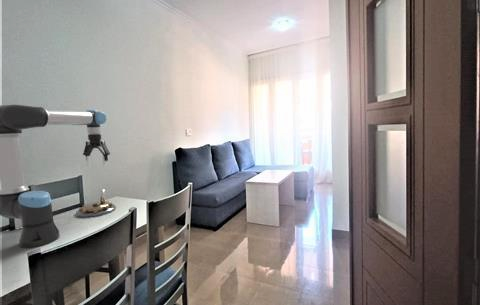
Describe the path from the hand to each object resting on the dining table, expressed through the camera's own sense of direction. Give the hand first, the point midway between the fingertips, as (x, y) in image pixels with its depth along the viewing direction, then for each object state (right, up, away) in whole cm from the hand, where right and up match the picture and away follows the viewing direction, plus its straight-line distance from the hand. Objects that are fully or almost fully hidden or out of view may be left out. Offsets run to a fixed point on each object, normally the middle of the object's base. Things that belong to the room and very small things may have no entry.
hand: (97, 165), depth 169 cm
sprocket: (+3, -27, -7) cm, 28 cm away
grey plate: (+3, -29, -7) cm, 30 cm away
